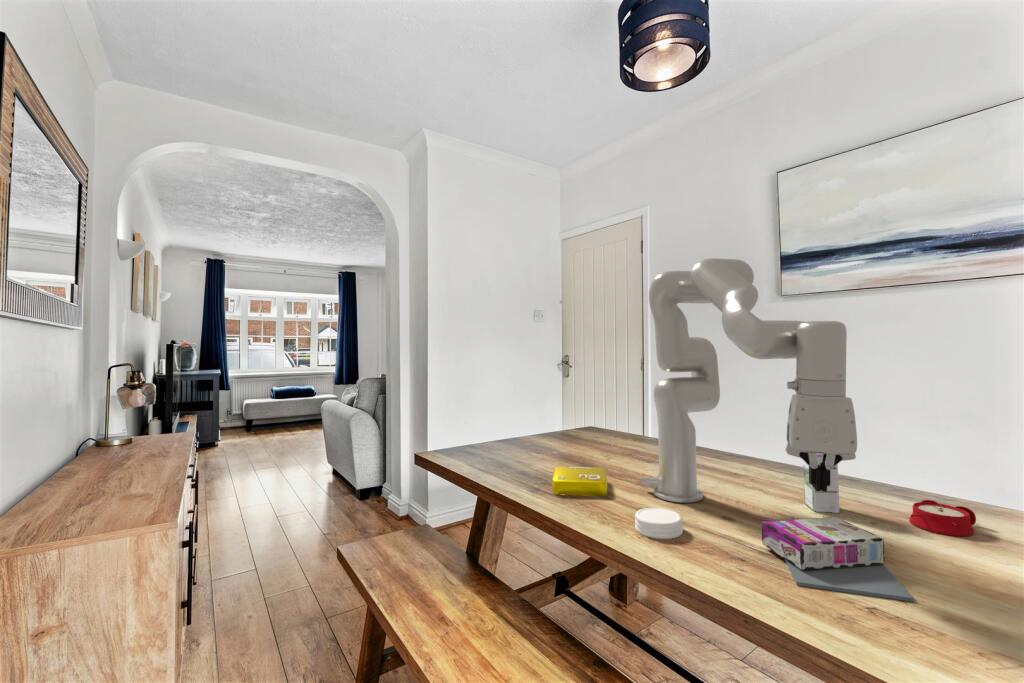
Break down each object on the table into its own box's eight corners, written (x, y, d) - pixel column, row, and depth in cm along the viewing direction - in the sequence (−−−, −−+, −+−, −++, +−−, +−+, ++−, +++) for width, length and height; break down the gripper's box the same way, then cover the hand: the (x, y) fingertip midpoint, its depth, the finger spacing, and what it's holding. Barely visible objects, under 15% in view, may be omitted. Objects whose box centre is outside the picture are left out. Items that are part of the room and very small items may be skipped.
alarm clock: (901, 511, 101) (918, 482, 110) (904, 537, 102) (920, 506, 111) (967, 525, 93) (980, 493, 102) (969, 554, 94) (982, 519, 102)
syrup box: (840, 513, 109) (839, 452, 109) (812, 512, 110) (811, 451, 111) (829, 505, 115) (828, 447, 115) (802, 503, 116) (801, 446, 116)
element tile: (605, 481, 139) (605, 465, 139) (607, 498, 124) (607, 480, 124) (555, 480, 141) (555, 464, 141) (551, 496, 126) (551, 478, 126)
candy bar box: (801, 572, 81) (886, 565, 83) (800, 544, 81) (885, 537, 83) (761, 545, 92) (836, 539, 94) (760, 520, 92) (836, 515, 94)
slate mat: (796, 585, 78) (796, 581, 78) (777, 545, 93) (777, 542, 93) (913, 601, 73) (913, 598, 73) (873, 556, 88) (873, 553, 88)
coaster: (658, 544, 95) (658, 527, 95) (625, 527, 104) (625, 511, 104) (692, 534, 100) (692, 518, 100) (658, 518, 109) (658, 504, 109)
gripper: (777, 390, 83) (777, 491, 83) (878, 393, 78) (877, 501, 78) (770, 385, 90) (769, 478, 90) (861, 387, 85) (860, 486, 85)
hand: (819, 488), depth 84 cm, fingers closed
